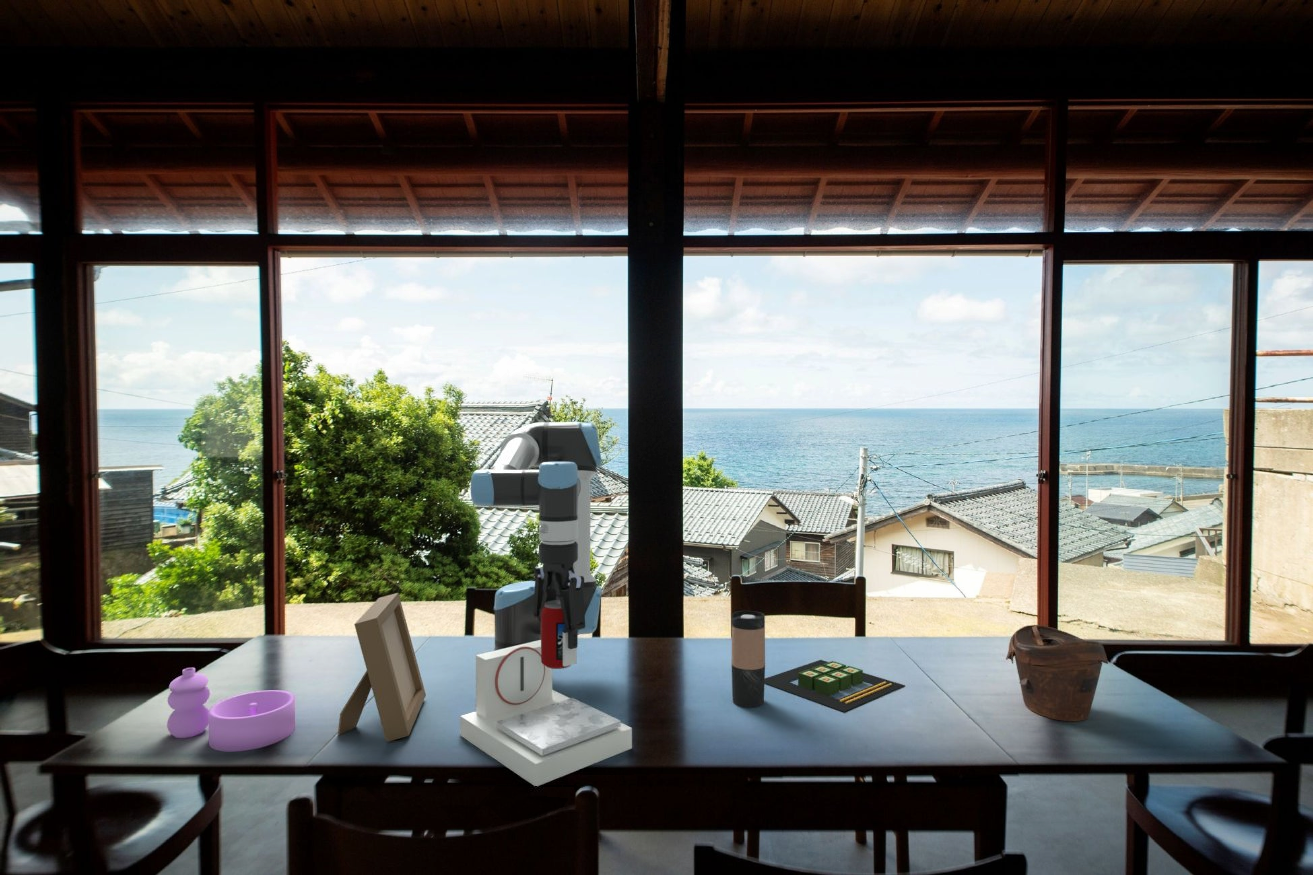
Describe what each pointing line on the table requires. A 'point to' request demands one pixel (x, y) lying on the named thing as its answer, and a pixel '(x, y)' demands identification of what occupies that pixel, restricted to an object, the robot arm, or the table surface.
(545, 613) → the beverage can
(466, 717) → the scale
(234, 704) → the container set
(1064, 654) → the case
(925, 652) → the table surface
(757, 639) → the travel mug
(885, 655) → the table surface
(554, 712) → the weighing pan
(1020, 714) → the table surface
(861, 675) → the sushi
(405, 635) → the photo frame
